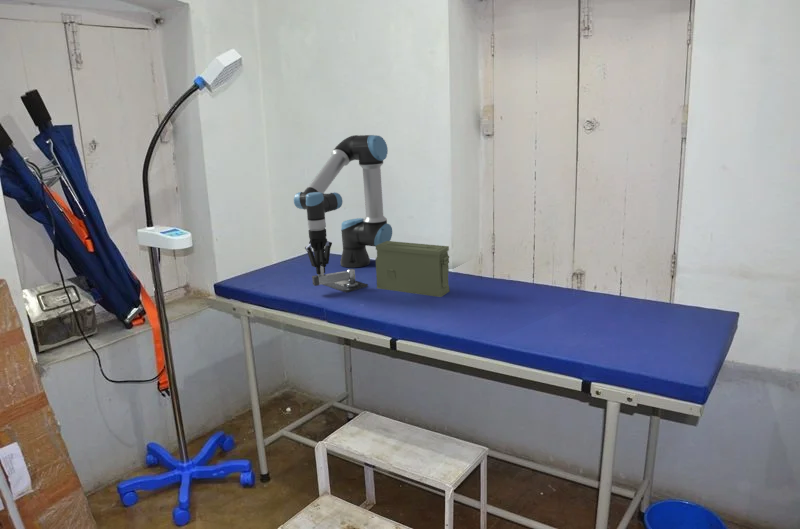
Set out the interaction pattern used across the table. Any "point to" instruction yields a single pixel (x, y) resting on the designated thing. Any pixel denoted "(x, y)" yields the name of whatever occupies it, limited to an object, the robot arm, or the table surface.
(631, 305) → the table surface
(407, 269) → the ammunition box
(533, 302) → the table surface
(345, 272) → the grey long bar
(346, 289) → the plate
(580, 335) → the table surface
